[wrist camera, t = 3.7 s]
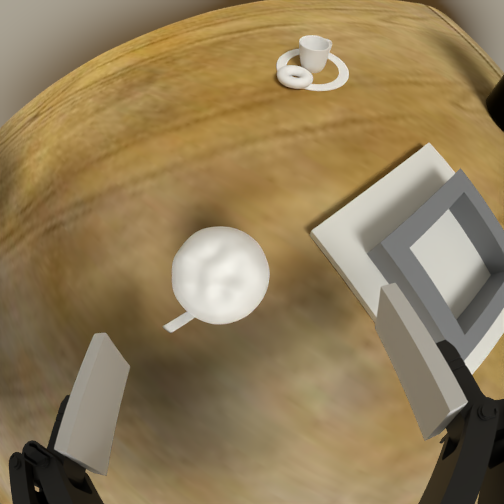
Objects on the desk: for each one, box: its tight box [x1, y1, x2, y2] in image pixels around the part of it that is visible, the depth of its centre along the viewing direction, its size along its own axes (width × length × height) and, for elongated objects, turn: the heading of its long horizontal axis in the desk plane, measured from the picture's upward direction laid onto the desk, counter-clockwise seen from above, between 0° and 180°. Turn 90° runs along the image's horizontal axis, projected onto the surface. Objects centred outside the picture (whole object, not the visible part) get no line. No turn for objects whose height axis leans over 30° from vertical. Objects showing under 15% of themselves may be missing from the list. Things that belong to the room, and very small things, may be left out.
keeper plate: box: [310, 143, 504, 374], centre depth 18 cm, size 18×15×4 cm
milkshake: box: [163, 226, 270, 333], centre depth 16 cm, size 5×5×10 cm
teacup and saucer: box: [276, 35, 349, 91], centre depth 24 cm, size 9×8×4 cm
